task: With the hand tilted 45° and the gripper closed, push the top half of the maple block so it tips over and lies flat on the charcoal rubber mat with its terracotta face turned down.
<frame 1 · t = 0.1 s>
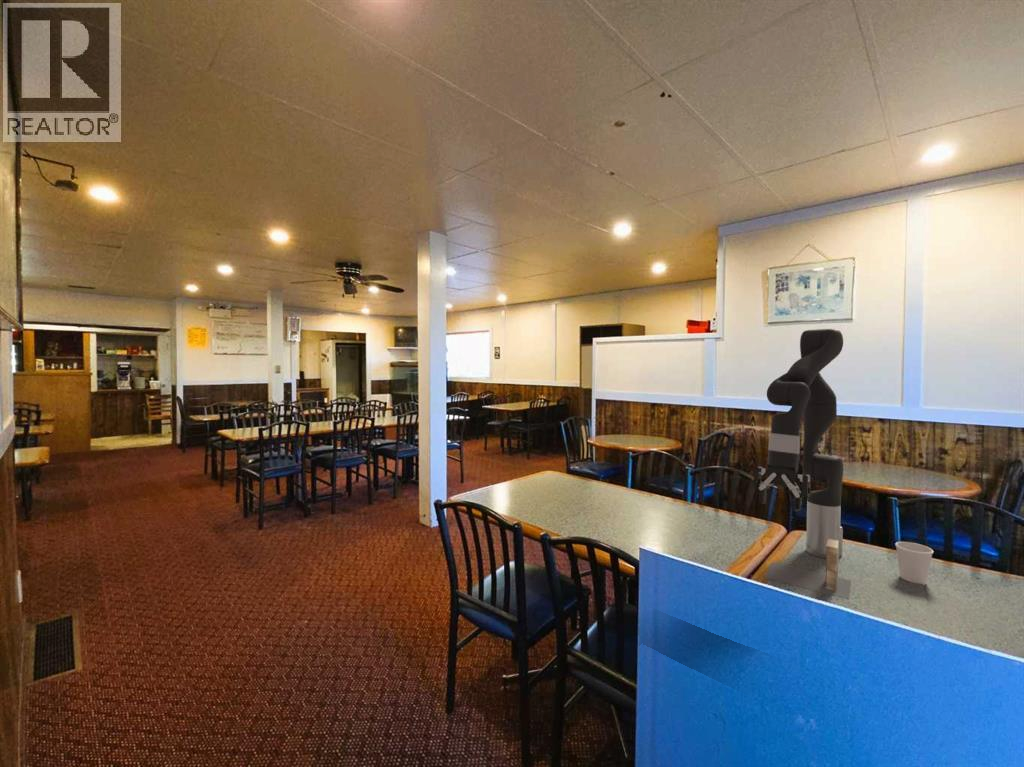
hand: (779, 507, 126), 22 cm above the table, tool pointing down, fingers open, 8 cm apart
dixie cup: (913, 581, 130), on the table
rubber mat: (806, 580, 130), on the table
maple block: (832, 585, 126), resting on rubber mat
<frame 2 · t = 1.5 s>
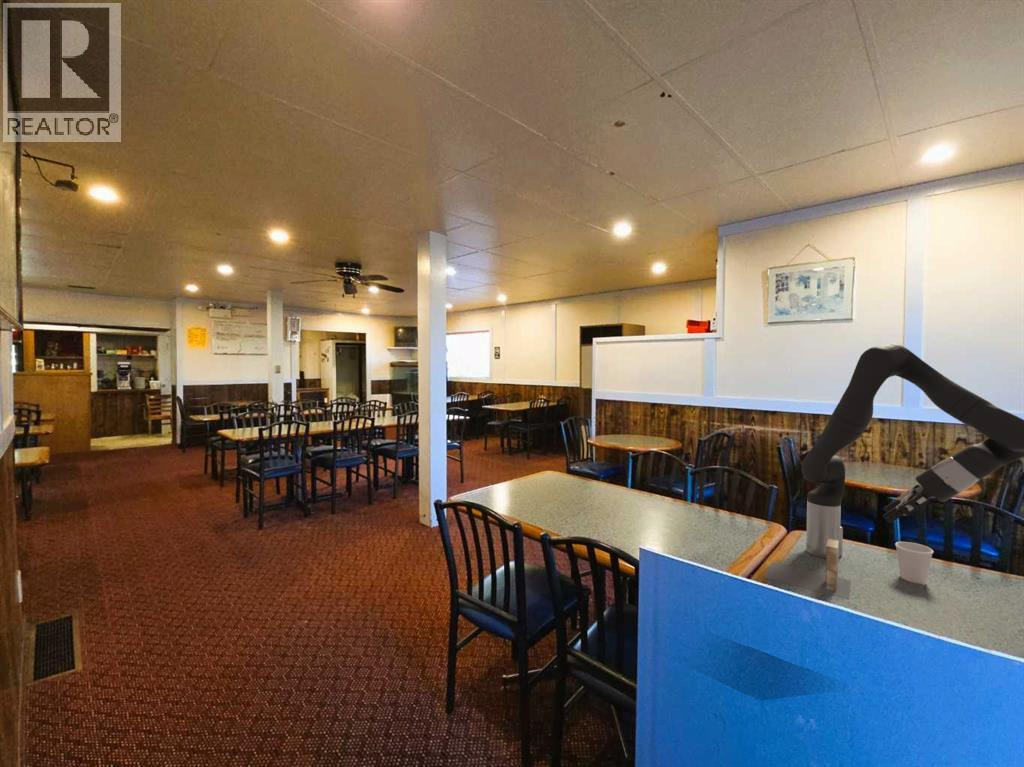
hand: (885, 515, 118), 23 cm above the table, tool tilted 45°, fingers open, 8 cm apart
nothing on the table moved.
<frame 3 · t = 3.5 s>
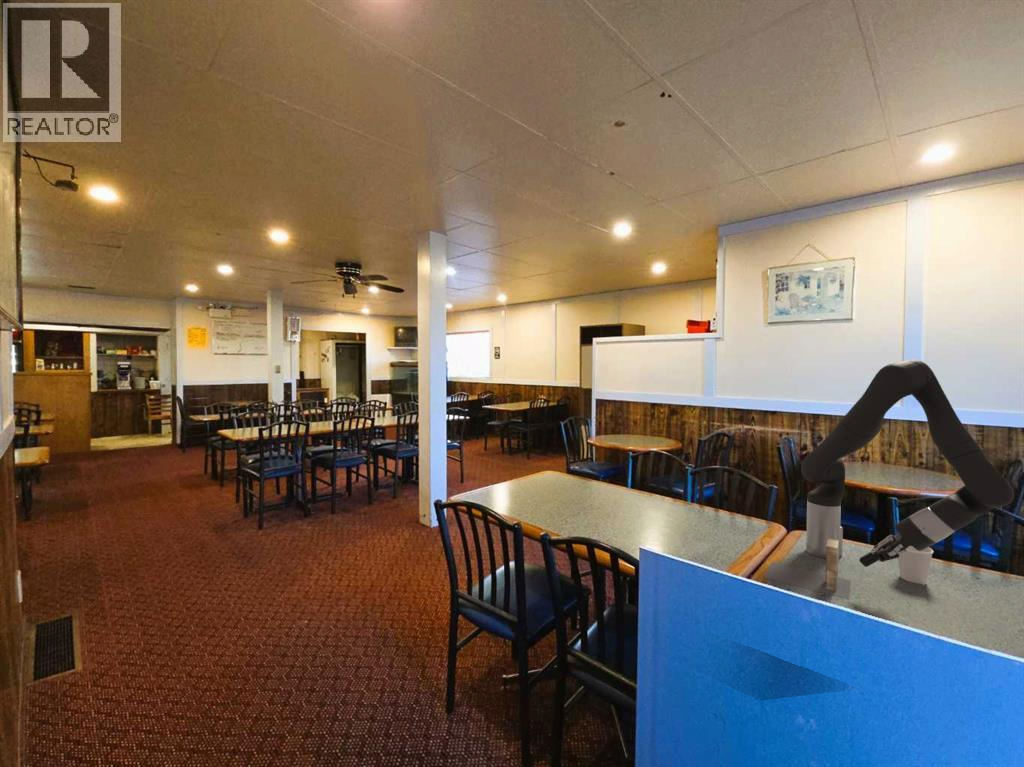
hand: (862, 563, 121), 9 cm above the table, tool tilted 45°, fingers closed
nothing on the table moved.
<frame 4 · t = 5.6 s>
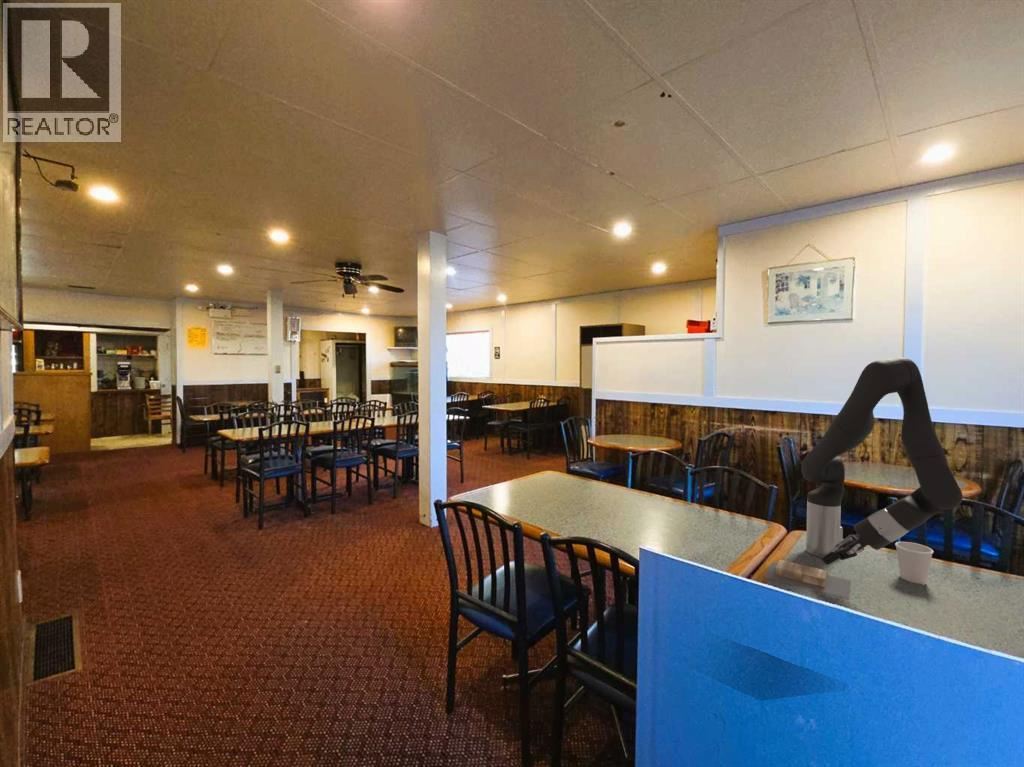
hand: (824, 561, 127), 7 cm above the table, tool tilted 45°, fingers closed
maple block: (826, 578, 127), point 2 cm above the table, tilted 90°, touching rubber mat
everything else where it was.
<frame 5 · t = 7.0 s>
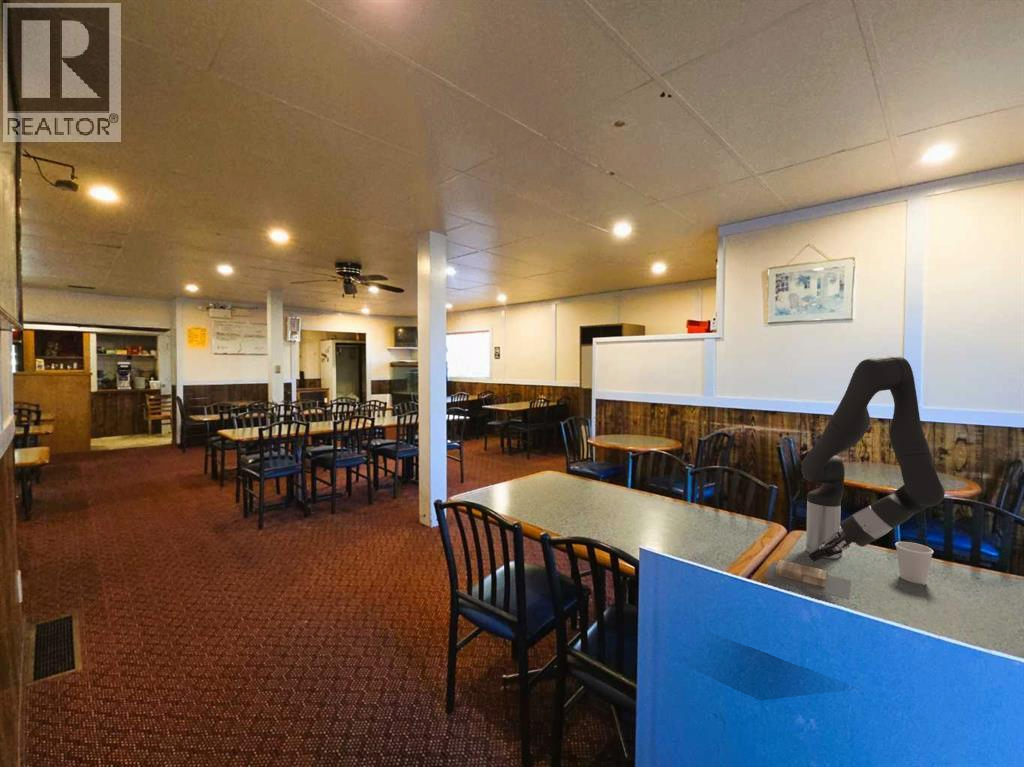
hand: (811, 558, 129), 7 cm above the table, tool tilted 45°, fingers closed
nothing on the table moved.
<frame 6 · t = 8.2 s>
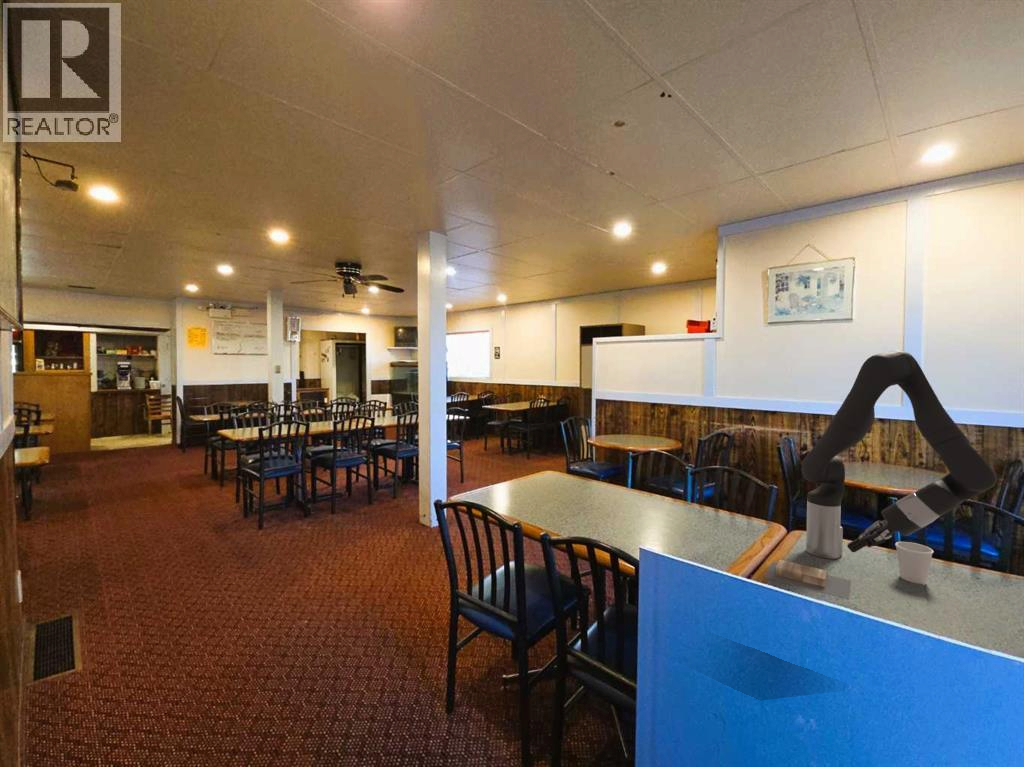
hand: (850, 548, 123), 12 cm above the table, tool tilted 45°, fingers closed
nothing on the table moved.
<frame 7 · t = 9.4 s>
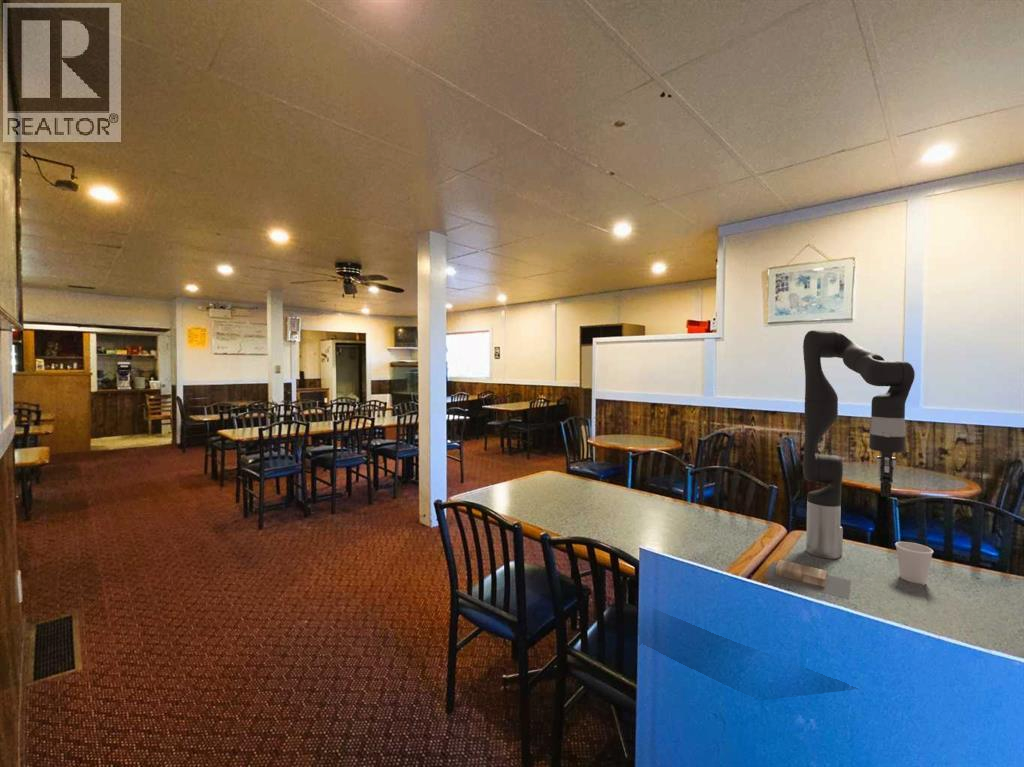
hand: (885, 496, 122), 27 cm above the table, tool pointing down, fingers closed
nothing on the table moved.
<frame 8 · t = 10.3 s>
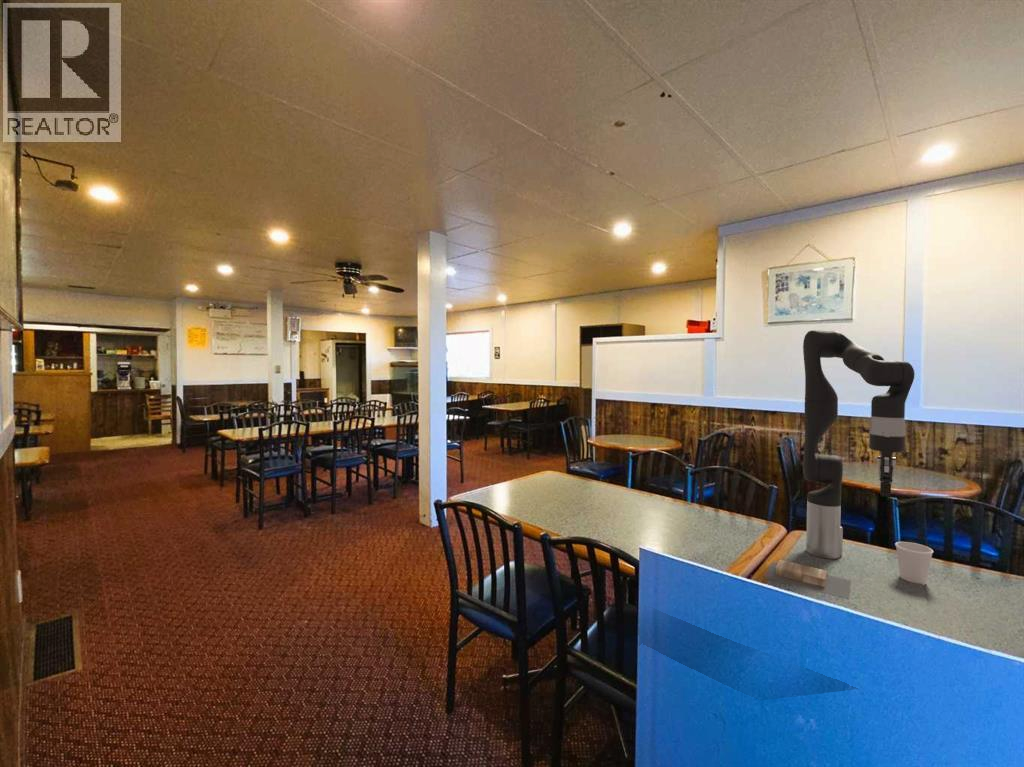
hand: (885, 496, 122), 27 cm above the table, tool pointing down, fingers closed
nothing on the table moved.
at the end: maple block tilted 90°; maple block inside the target area on the rubber mat (3.8 cm from its centre), point 1.9 cm above the rubber mat's base; maple block touching rubber mat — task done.
